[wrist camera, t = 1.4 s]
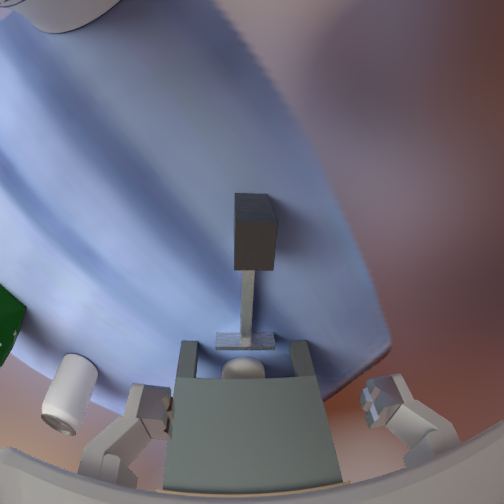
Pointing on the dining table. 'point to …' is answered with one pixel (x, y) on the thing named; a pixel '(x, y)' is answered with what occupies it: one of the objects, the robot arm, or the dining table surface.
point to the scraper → (251, 265)
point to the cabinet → (249, 433)
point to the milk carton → (9, 322)
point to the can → (69, 394)
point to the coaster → (243, 369)
